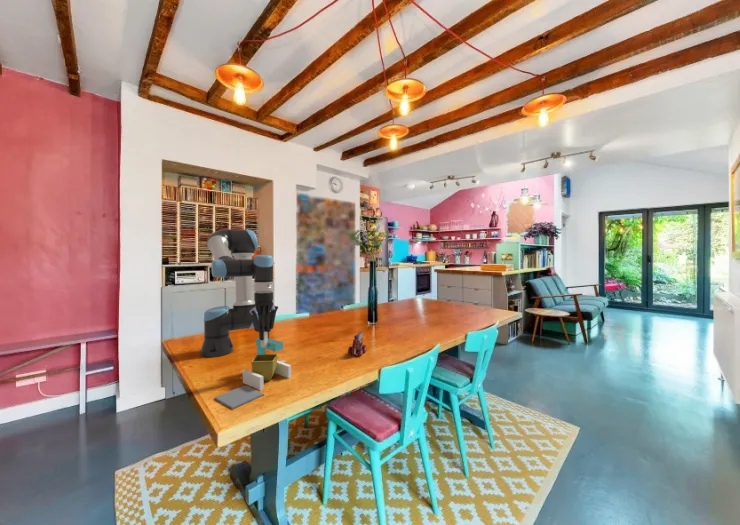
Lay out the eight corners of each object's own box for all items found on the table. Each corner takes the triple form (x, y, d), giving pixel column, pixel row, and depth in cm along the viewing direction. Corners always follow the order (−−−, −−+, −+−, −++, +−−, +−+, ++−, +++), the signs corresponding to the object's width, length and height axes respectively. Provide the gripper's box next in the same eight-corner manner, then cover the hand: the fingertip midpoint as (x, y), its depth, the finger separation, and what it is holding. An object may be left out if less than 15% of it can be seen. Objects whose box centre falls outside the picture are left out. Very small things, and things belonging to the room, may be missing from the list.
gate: (256, 369, 132) (255, 338, 132) (264, 366, 135) (263, 336, 135) (275, 376, 124) (275, 344, 124) (283, 373, 128) (283, 342, 127)
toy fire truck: (346, 356, 151) (346, 336, 151) (355, 349, 163) (355, 330, 162) (359, 358, 149) (359, 337, 148) (367, 350, 160) (367, 331, 160)
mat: (214, 398, 107) (214, 397, 107) (245, 386, 117) (245, 385, 117) (232, 409, 100) (232, 407, 100) (263, 395, 110) (263, 393, 110)
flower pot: (257, 374, 128) (257, 354, 128) (278, 374, 129) (278, 353, 129) (251, 383, 120) (250, 361, 119) (273, 383, 120) (273, 361, 120)
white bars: (234, 378, 124) (233, 366, 124) (282, 361, 144) (282, 350, 144) (260, 390, 114) (260, 377, 114) (308, 369, 134) (308, 358, 134)
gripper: (255, 294, 119) (255, 352, 120) (282, 290, 129) (282, 344, 130) (244, 292, 123) (245, 349, 124) (271, 289, 134) (271, 341, 135)
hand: (264, 346), depth 127 cm, fingers closed
